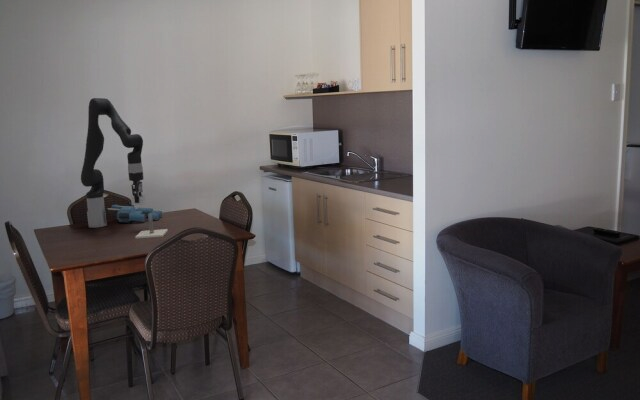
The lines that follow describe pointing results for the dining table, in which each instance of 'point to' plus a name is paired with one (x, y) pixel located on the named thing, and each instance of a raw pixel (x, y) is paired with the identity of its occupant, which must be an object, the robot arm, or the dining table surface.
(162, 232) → the post
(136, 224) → the dining table surface
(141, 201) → the collar
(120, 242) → the dining table surface
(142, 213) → the toy
